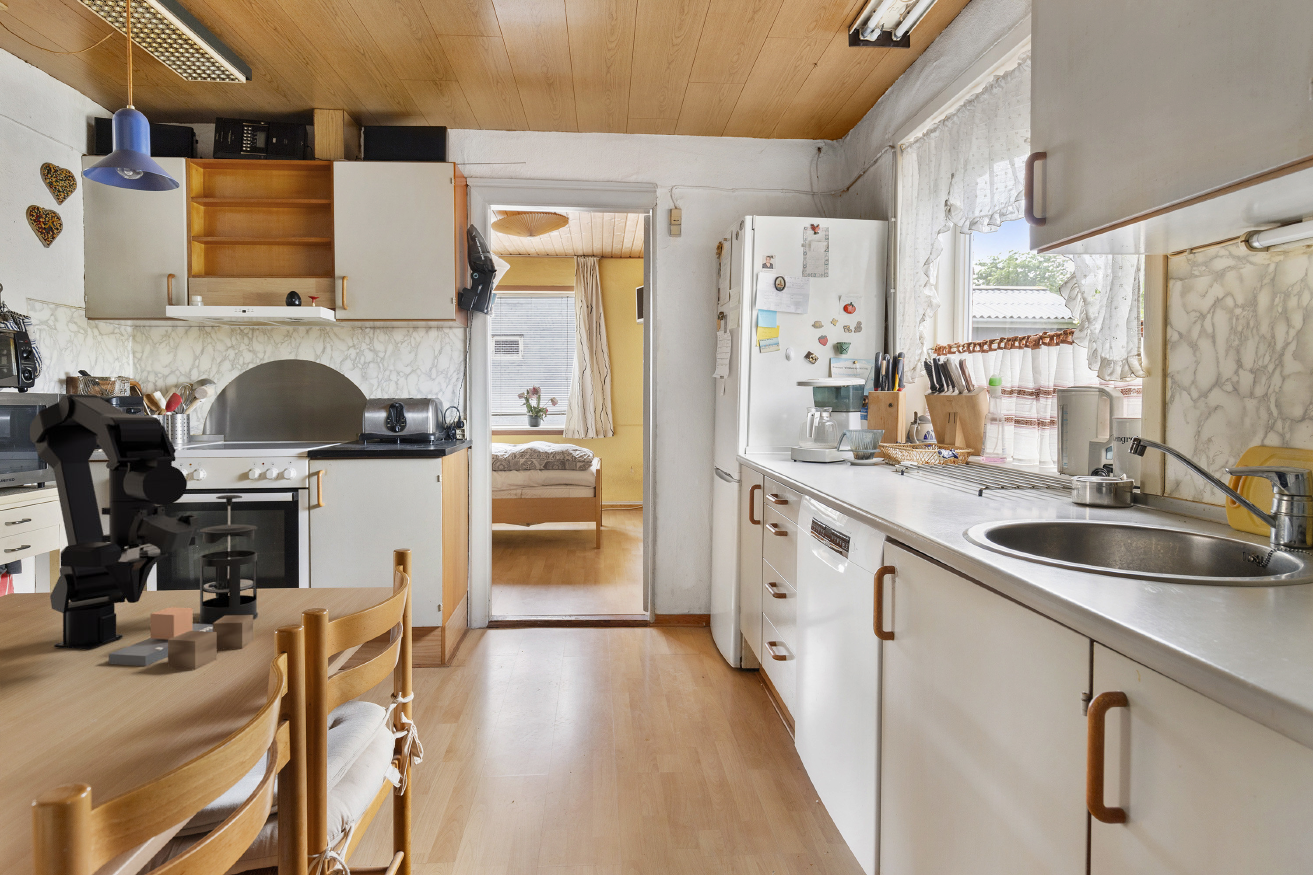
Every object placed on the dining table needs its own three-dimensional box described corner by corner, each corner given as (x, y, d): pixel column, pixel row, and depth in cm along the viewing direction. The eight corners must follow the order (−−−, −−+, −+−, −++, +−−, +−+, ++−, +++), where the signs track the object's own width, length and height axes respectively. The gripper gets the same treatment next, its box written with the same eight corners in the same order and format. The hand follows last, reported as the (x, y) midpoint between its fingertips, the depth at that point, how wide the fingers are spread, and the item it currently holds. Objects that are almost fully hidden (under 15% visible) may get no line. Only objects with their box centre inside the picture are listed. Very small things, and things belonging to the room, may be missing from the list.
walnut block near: (168, 668, 106) (168, 639, 106) (190, 658, 110) (190, 630, 110) (195, 670, 106) (195, 641, 105) (216, 660, 110) (216, 632, 110)
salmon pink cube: (150, 638, 114) (150, 613, 114) (170, 630, 118) (170, 607, 117) (173, 639, 113) (173, 614, 113) (192, 632, 117) (192, 608, 117)
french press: (265, 620, 130) (265, 496, 130) (205, 630, 124) (205, 499, 123) (248, 607, 139) (248, 490, 138) (191, 615, 132) (192, 493, 132)
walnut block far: (212, 650, 114) (212, 623, 114) (224, 641, 119) (224, 615, 119) (242, 649, 115) (242, 622, 115) (253, 640, 119) (253, 614, 119)
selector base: (108, 663, 107) (108, 652, 107) (188, 631, 123) (188, 621, 123) (145, 665, 107) (145, 654, 106) (220, 633, 122) (220, 623, 122)
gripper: (130, 509, 97) (131, 622, 97) (226, 494, 116) (226, 589, 116) (56, 506, 98) (57, 618, 98) (162, 492, 117) (163, 586, 117)
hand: (133, 602), depth 107 cm, fingers closed
